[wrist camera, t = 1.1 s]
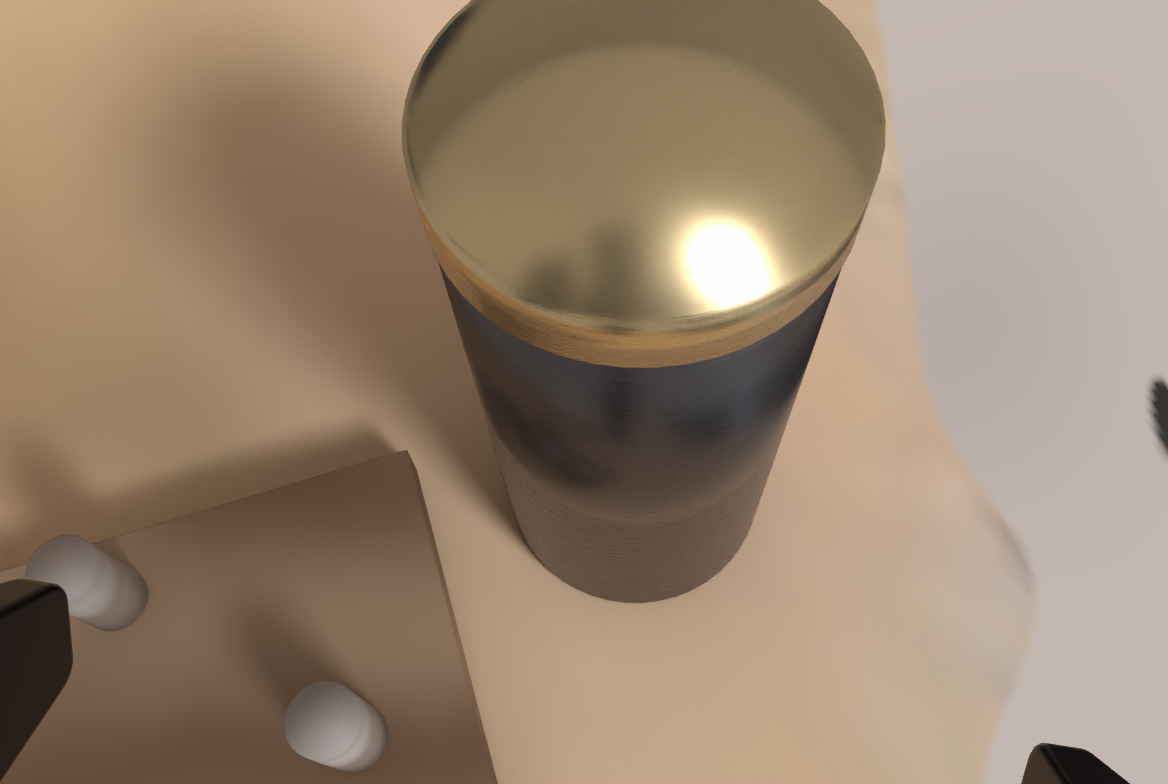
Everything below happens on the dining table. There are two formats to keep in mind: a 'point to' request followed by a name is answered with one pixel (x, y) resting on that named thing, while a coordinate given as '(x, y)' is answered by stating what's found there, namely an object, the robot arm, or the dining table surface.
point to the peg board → (263, 646)
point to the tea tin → (640, 256)
